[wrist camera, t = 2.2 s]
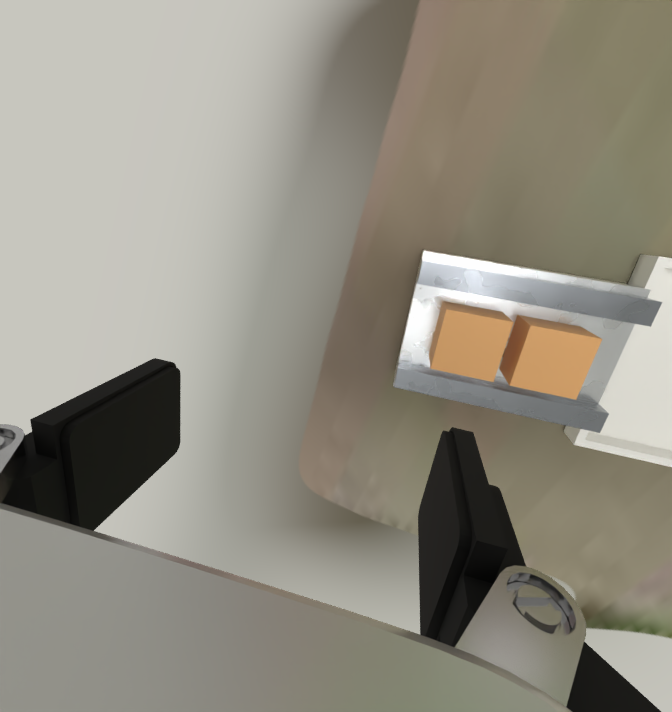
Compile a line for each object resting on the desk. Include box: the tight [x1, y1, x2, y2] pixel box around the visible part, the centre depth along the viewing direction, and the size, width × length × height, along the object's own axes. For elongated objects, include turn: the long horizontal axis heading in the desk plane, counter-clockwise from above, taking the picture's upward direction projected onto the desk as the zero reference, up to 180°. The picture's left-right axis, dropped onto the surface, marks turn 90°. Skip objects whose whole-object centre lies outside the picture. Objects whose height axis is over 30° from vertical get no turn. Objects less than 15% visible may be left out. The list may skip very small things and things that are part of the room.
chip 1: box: [429, 301, 514, 382], centre depth 24 cm, size 4×4×3 cm
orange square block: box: [499, 315, 602, 400], centre depth 24 cm, size 4×4×3 cm
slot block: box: [393, 249, 662, 433], centre depth 26 cm, size 14×10×4 cm
